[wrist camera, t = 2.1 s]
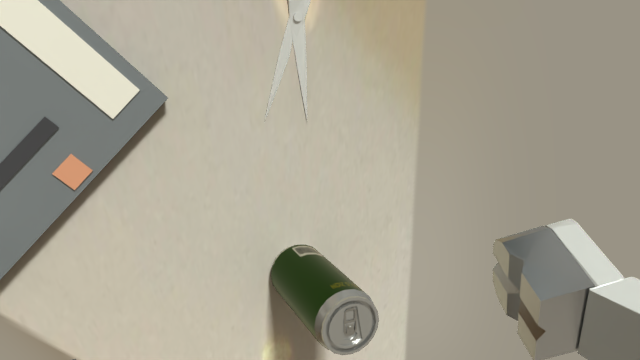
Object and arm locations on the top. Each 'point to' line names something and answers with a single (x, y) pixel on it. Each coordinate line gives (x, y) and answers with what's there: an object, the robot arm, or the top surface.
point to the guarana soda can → (325, 299)
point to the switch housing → (58, 115)
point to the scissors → (295, 34)
